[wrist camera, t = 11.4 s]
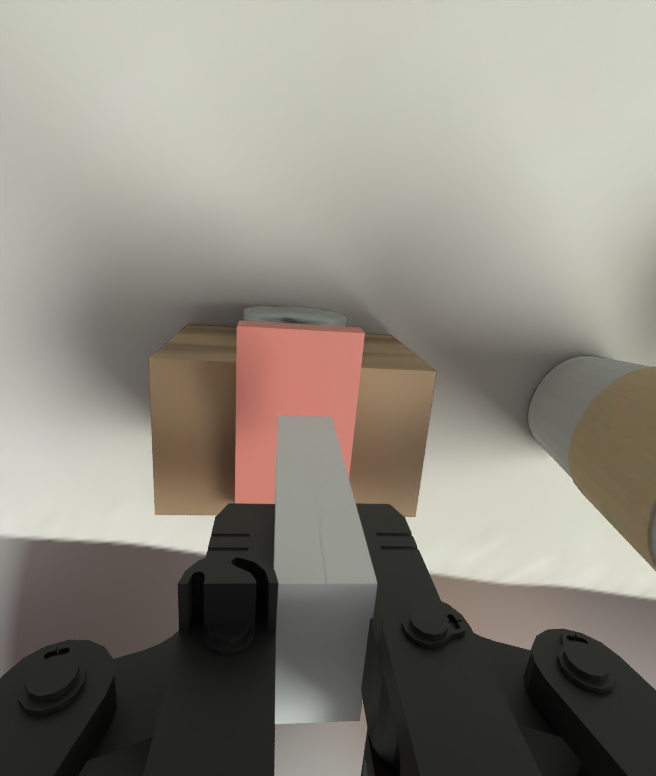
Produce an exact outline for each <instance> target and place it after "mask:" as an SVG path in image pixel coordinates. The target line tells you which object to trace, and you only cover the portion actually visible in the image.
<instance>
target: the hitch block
mask: <svg viewBox="0 0 656 776" xmlns="http://www.w3.org/2000/svg"><path fill="white" fill-rule="evenodd" d="M236 354H237V327H229V326H211V325H193V324H188V325H187V326H186V327H184V328H183V329H182V330H181V331H180V332H179V333H177V334H176V335H175V336H174V337H173V338H172V339H170V340H169V341H168V342H167V343H166V344H165V345H163V346H162V347H161V348H160V349H159V350H158V351H156V352H155V353H154V354H153V355H152V356H151V357H149V377H150V402H151V427H152V453H153V478H154V503H155V515H218V514H219V513H220V512H221V511H222V510H223V509H224V508H225V507H226V506H227V504H228V503H235V449H236ZM435 378H436V371H435V370H434V369H433V368H432V367H430V366H429V365H428V364H427V363H425V362H424V361H423V360H422V359H420V358H419V357H418V356H417V355H415V354H414V353H413V352H412V351H411V350H409V349H408V348H407V347H406V346H404V345H403V344H402V343H401V342H399V341H398V340H397V339H396V338H394V337H393V336H392V335H374V334H365V337H364V346H363V355H362V364H361V373H360V382H359V392H358V401H357V410H356V419H355V428H354V437H353V446H352V456H351V465H350V474H349V481H350V485H351V489H352V492H353V496H354V500H355V503H363V504H390V505H392V506H393V507H394V508H395V509H396V510H397V511H398V512H399V513H400V514H401V515H403V516H404V517H415V516H416V509H417V503H418V496H419V489H420V482H421V475H422V468H423V461H424V454H425V447H426V440H427V434H428V427H429V420H430V413H431V406H432V399H433V392H434V385H435Z"/></svg>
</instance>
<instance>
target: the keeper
mask: <svg viewBox="0 0 656 776" xmlns="http://www.w3.org/2000/svg"><path fill="white" fill-rule="evenodd" d="M364 337H365V333H364V331H363V330H362V328H361V327H343V326H326V325H308V324H291V323H273V322H256V321H239V322H238V324H237V354H236V449H235V503H244V504H274V494H275V471H276V449H277V426H278V415H291V416H320V417H332V420H333V423H334V427H335V431H336V434H337V438H338V441H339V445H340V449H341V452H342V456H343V460H344V463H345V467H346V471H347V474H348V478H349V474H350V465H351V456H352V446H353V437H354V428H355V419H356V410H357V401H358V392H359V382H360V373H361V364H362V355H363V346H364Z"/></svg>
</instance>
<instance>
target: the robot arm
mask: <svg viewBox="0 0 656 776" xmlns="http://www.w3.org/2000/svg"><path fill="white" fill-rule="evenodd" d="M411 534H412V533H411V531H410V529H409V526H408V524H407V522H406V519H405V517H404V516H403V515H401V514H400V513H399V512H398V511H397V510H396V509H395V508H394V507H393V506H392V505H390V504H363V503H355V500H354V496H353V492H352V489H351V485H350V481H349V478H348V474H347V471H346V467H345V463H344V460H343V456H342V452H341V449H340V445H339V441H338V438H337V434H336V431H335V427H334V423H333V420H332V417H320V416H291V415H278V426H277V449H276V471H275V494H274V504H244V503H228V504H227V506H226V507H225V508H224V509H223V510H222V511H221V512H220V513H219V514H218V515H217V516H216V517H215V521H214V525H213V529H212V534H211V538H210V542H209V546H208V551H207V555H206V558H204V559H201V560H199V561H197V562H196V563H195V564H194V565H192V566H191V567H190V568H188V569H187V570H186V571H185V572H184V574H183V576H182V578H181V579H180V581H179V583H178V603H179V604H178V607H179V631H178V632H176V633H175V634H174V635H173V636H172V637H170V638H169V639H167V640H166V641H164V642H162V643H160V644H159V645H156V646H154V647H151V648H148V649H146V650H143V651H140V652H136V653H133V654H129V655H126V656H122V657H119V658H116V659H113V658H112V657H111V655H110V654H109V652H108V651H107V650H106V648H105V647H104V646H101V645H99V644H97V643H94V642H92V641H89V640H67V641H63V642H59V643H56V644H52V645H48V646H45V647H43V648H41V649H40V650H38V651H36V652H34V653H32V654H30V655H28V656H26V657H24V658H23V659H22V660H21V661H20V662H18V663H17V664H16V665H15V666H14V667H12V668H11V669H10V670H9V671H8V672H7V673H5V674H4V675H3V676H2V677H1V678H0V776H274V749H275V747H274V746H275V744H274V743H275V724H286V723H311V722H338V721H359V720H360V713H361V707H362V699H363V704H364V709H365V715H366V721H367V735H366V742H365V749H364V757H363V765H362V771H361V776H656V690H655V689H654V688H653V687H652V686H651V685H649V683H647V682H646V681H645V680H644V679H643V678H642V677H641V676H640V675H639V674H638V673H637V672H636V671H635V670H633V669H632V668H631V667H630V666H629V665H628V664H627V663H626V662H625V661H624V660H623V659H622V658H621V657H620V656H618V655H617V654H616V653H614V652H613V651H612V650H610V649H609V648H608V647H606V646H605V645H603V643H601V642H599V641H597V640H595V639H593V638H591V637H588V636H586V635H585V634H582V633H579V632H575V631H570V630H566V629H549V630H546V631H544V632H542V633H541V634H539V635H537V636H536V638H535V641H534V643H533V646H532V648H531V650H527V649H523V648H519V647H515V646H511V645H507V644H504V643H499V642H495V641H492V640H490V639H486V638H484V637H481V636H479V635H477V634H475V633H473V631H472V629H471V627H470V626H469V624H468V623H467V622H466V620H465V619H464V617H463V616H462V615H461V614H460V613H459V612H457V611H456V610H455V609H453V608H452V607H451V606H450V605H448V604H446V603H444V602H442V601H441V600H440V597H439V595H438V593H437V590H436V588H435V586H434V584H433V581H432V579H431V577H430V574H429V572H428V570H427V568H426V565H425V563H424V561H423V558H422V556H421V554H420V551H419V550H417V545H416V542H415V540H414V538H413V536H412V535H411Z"/></svg>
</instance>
